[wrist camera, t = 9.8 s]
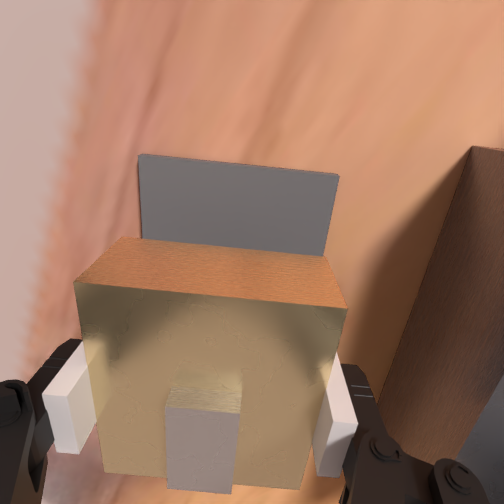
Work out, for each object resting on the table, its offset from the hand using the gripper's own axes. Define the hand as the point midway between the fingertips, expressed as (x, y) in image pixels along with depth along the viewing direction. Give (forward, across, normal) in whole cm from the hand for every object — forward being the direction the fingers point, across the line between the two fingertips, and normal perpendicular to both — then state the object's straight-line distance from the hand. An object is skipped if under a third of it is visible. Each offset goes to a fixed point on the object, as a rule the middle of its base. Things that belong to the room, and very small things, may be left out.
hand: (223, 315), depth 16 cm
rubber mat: (+3, 0, 0) cm, 3 cm away
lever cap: (-2, 0, 0) cm, 2 cm away
